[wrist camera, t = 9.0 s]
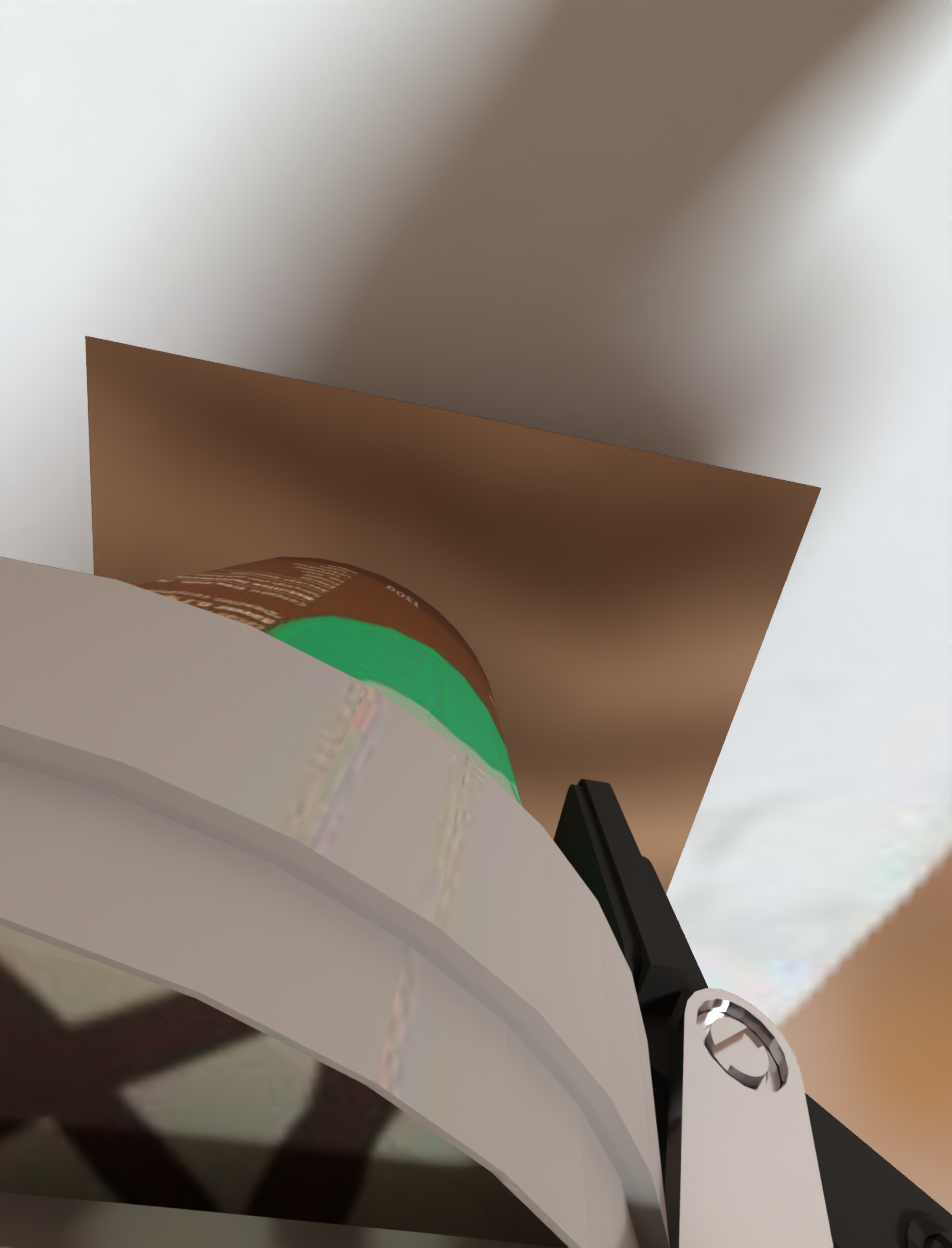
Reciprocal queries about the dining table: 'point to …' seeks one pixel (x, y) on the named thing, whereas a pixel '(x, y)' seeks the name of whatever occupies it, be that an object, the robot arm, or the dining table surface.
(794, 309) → the dining table surface
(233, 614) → the food container
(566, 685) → the walnut shelf
